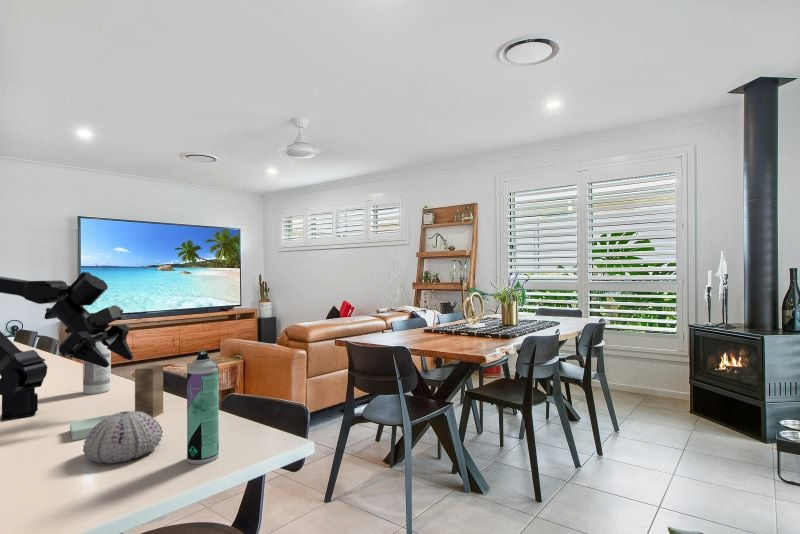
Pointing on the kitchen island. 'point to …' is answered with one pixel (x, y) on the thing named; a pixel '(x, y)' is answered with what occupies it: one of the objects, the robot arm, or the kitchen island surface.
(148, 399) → the walnut block
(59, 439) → the kitchen island surface
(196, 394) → the spray can
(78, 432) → the green plinth
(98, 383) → the bath foam
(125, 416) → the sea urchin shell
